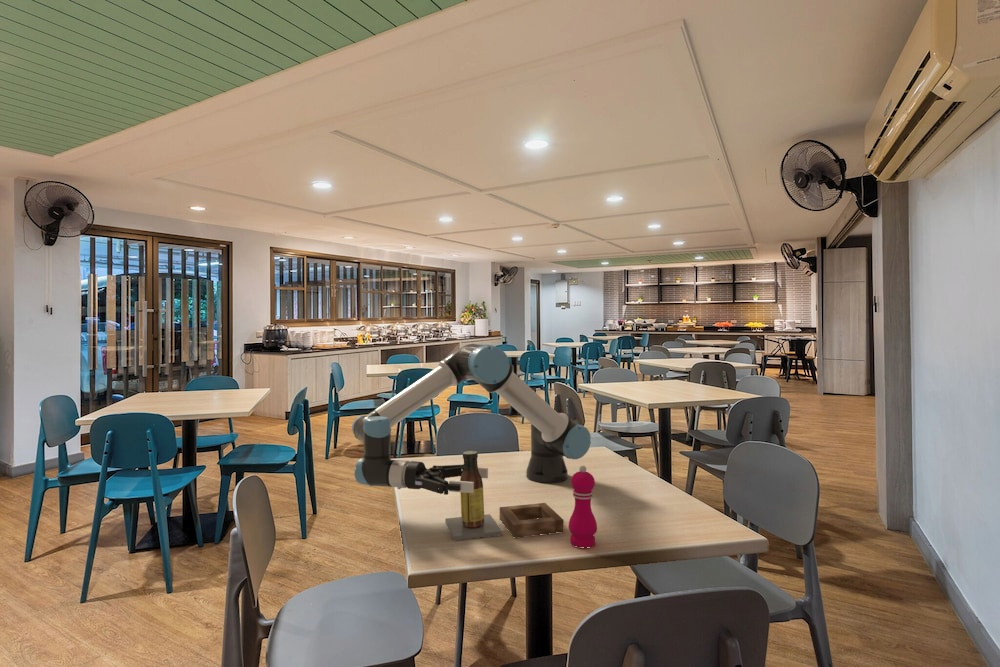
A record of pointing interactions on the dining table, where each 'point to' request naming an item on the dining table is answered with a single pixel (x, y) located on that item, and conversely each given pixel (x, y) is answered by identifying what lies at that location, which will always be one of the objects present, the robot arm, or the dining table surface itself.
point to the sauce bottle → (472, 501)
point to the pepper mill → (582, 510)
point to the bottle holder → (525, 527)
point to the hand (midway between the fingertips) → (480, 480)
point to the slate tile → (468, 533)
